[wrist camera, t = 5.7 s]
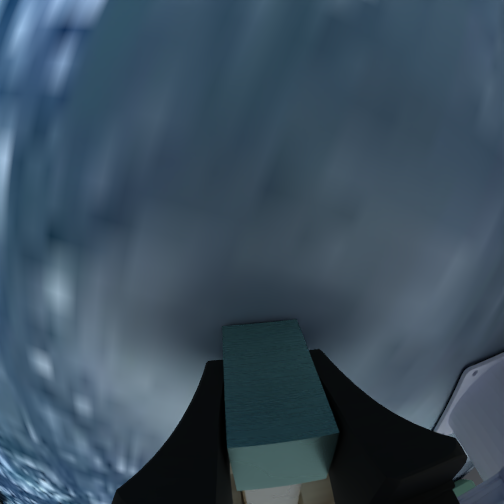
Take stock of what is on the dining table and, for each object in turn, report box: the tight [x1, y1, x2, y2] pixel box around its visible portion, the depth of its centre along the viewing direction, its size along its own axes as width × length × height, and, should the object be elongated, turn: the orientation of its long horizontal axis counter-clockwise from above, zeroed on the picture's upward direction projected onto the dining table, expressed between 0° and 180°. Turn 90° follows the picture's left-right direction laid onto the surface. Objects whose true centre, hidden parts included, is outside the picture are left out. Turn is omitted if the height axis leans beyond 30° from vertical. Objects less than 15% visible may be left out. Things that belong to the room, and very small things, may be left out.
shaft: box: [222, 319, 339, 504], centre depth 14 cm, size 3×24×6 cm, turn 3°
